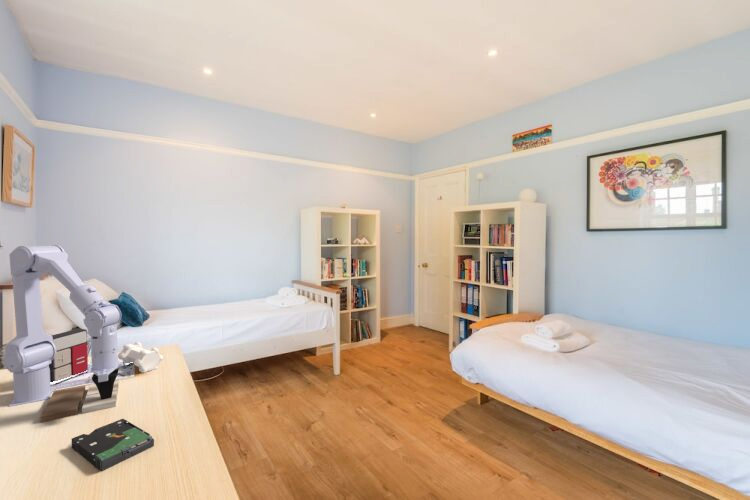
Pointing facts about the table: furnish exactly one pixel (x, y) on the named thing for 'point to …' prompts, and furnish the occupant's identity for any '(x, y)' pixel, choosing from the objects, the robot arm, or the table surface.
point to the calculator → (69, 354)
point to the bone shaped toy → (141, 357)
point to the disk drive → (112, 444)
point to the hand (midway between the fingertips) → (106, 398)
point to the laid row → (63, 404)
